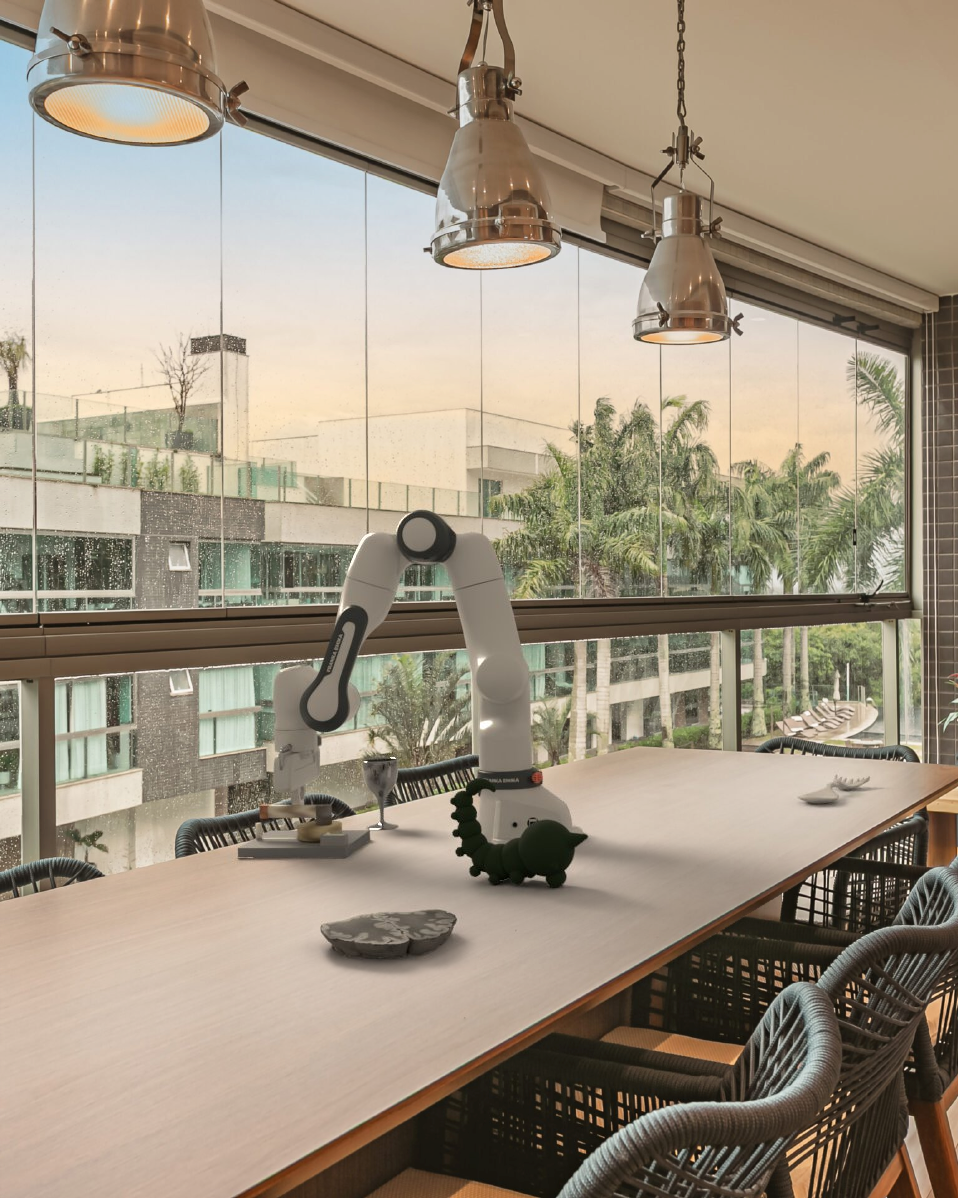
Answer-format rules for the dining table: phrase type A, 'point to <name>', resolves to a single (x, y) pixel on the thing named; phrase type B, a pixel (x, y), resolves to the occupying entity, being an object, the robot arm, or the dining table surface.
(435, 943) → the brain slice
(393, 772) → the wine glass
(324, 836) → the stand
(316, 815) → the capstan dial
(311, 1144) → the dining table surface
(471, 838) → the toy figurine
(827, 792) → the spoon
